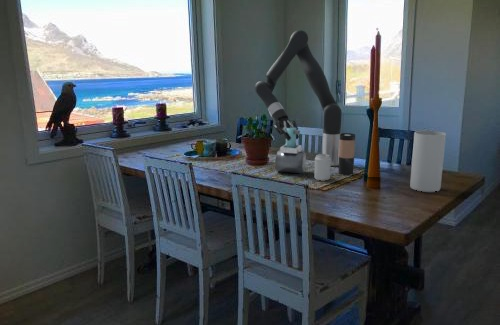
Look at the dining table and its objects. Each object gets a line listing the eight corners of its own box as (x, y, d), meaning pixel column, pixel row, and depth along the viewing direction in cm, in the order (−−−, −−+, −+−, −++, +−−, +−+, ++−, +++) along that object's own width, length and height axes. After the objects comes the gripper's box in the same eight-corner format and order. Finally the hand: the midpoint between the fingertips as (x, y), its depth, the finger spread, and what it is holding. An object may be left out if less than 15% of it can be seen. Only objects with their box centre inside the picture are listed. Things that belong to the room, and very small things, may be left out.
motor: (305, 170, 218) (306, 145, 215) (300, 175, 208) (300, 149, 205) (281, 168, 223) (281, 143, 220) (275, 173, 213) (275, 147, 210)
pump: (283, 147, 213) (283, 127, 211) (290, 146, 216) (291, 126, 214) (294, 149, 207) (294, 129, 205) (301, 148, 210) (302, 128, 208)
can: (331, 177, 204) (331, 153, 201) (328, 181, 197) (329, 157, 194) (315, 176, 207) (316, 152, 204) (312, 180, 200) (313, 156, 197)
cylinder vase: (437, 194, 177) (443, 136, 171) (407, 190, 184) (411, 133, 178) (442, 187, 187) (447, 132, 182) (413, 183, 194) (417, 129, 188)
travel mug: (354, 172, 214) (356, 133, 209) (351, 175, 207) (353, 136, 203) (340, 170, 217) (341, 132, 213) (336, 174, 210) (338, 135, 206)
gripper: (270, 109, 209) (287, 136, 203) (291, 107, 218) (307, 132, 212) (263, 118, 215) (279, 145, 208) (284, 116, 223) (299, 141, 217)
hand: (293, 138), depth 210 cm, fingers closed on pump, 5 cm apart
